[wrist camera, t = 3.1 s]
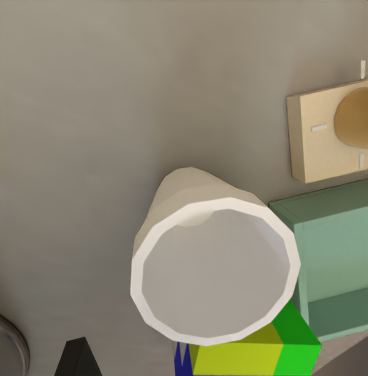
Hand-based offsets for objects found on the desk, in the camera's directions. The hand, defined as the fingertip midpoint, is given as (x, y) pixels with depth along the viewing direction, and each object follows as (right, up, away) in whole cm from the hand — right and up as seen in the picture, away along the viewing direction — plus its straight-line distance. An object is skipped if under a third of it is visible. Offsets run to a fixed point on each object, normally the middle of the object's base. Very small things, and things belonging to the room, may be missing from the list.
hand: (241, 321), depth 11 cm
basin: (+16, -1, +19) cm, 25 cm away
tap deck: (+13, +12, +15) cm, 23 cm away
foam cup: (-2, +5, +15) cm, 16 cm away
